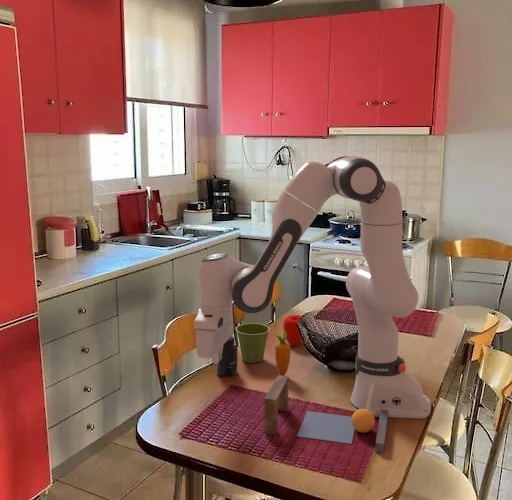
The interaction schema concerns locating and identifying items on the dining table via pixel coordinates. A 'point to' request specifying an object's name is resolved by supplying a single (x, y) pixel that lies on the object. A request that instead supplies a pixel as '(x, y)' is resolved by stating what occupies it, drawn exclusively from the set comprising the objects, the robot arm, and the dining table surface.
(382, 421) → the stopper wall
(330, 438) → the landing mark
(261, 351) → the plant pot
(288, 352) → the carrot
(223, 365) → the supplement bottle
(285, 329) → the apple
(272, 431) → the bridge
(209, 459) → the dining table surface
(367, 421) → the ball
